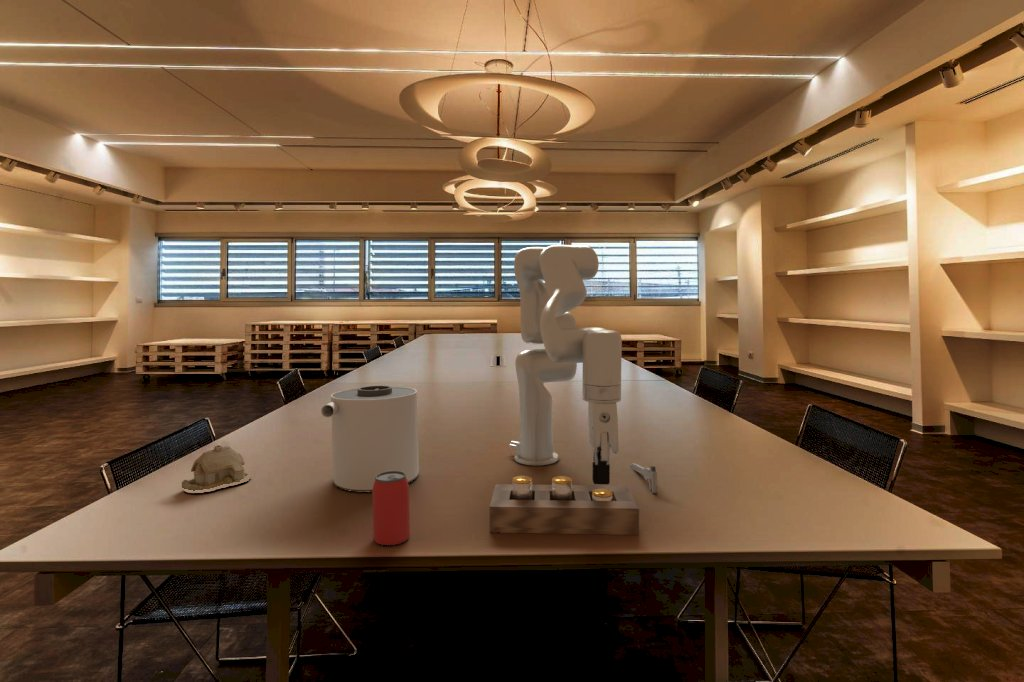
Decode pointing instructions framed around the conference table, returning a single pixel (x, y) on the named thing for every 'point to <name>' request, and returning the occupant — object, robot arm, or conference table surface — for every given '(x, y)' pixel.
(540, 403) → the robot arm
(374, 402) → the humidifier
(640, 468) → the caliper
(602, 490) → the right knob
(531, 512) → the knob console
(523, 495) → the left knob
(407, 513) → the beer can
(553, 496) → the middle knob
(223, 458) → the ceramic model
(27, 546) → the conference table surface
